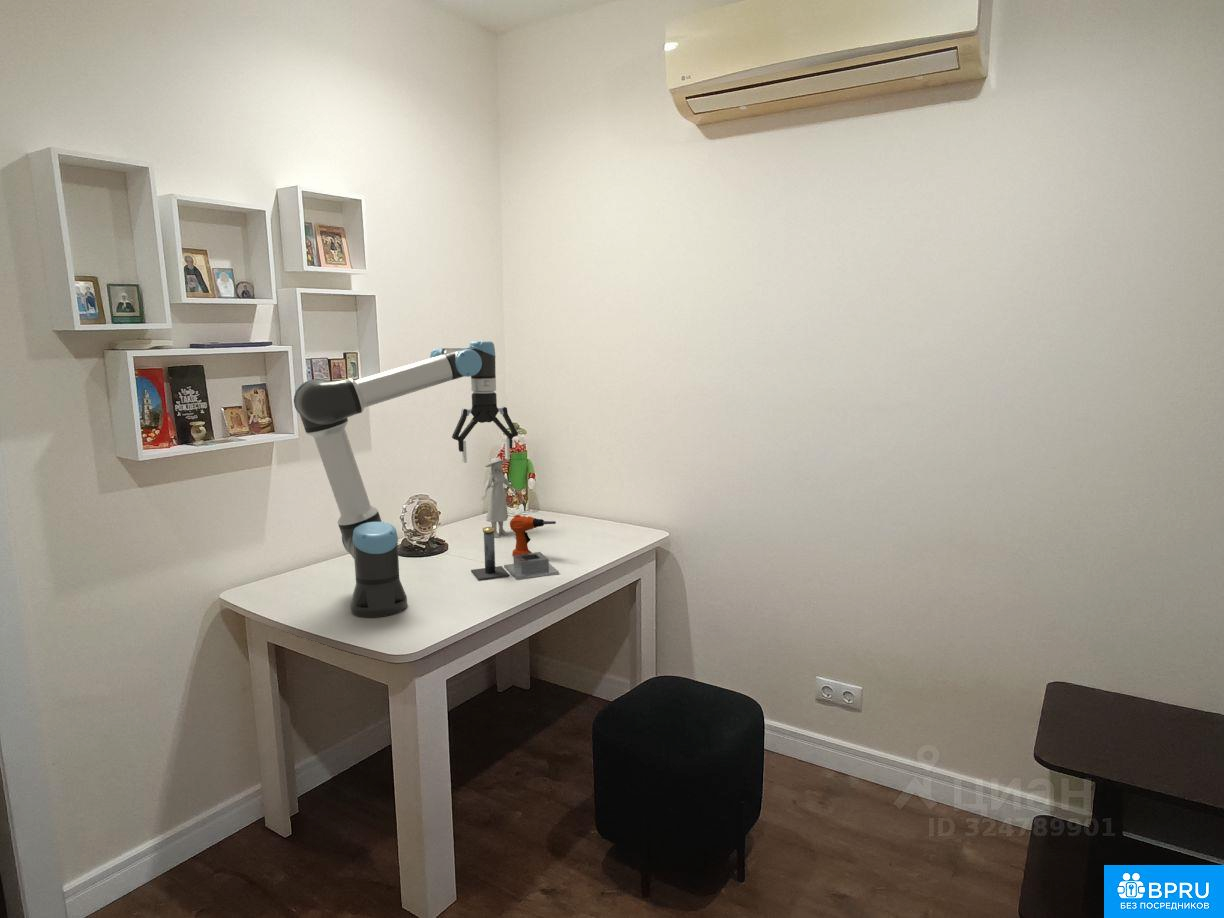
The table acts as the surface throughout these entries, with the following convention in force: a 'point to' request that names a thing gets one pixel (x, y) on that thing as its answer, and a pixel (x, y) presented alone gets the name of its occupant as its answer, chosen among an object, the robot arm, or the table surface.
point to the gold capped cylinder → (489, 549)
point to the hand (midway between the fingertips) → (486, 460)
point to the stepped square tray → (530, 566)
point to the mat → (498, 573)
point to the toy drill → (520, 526)
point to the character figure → (497, 496)
